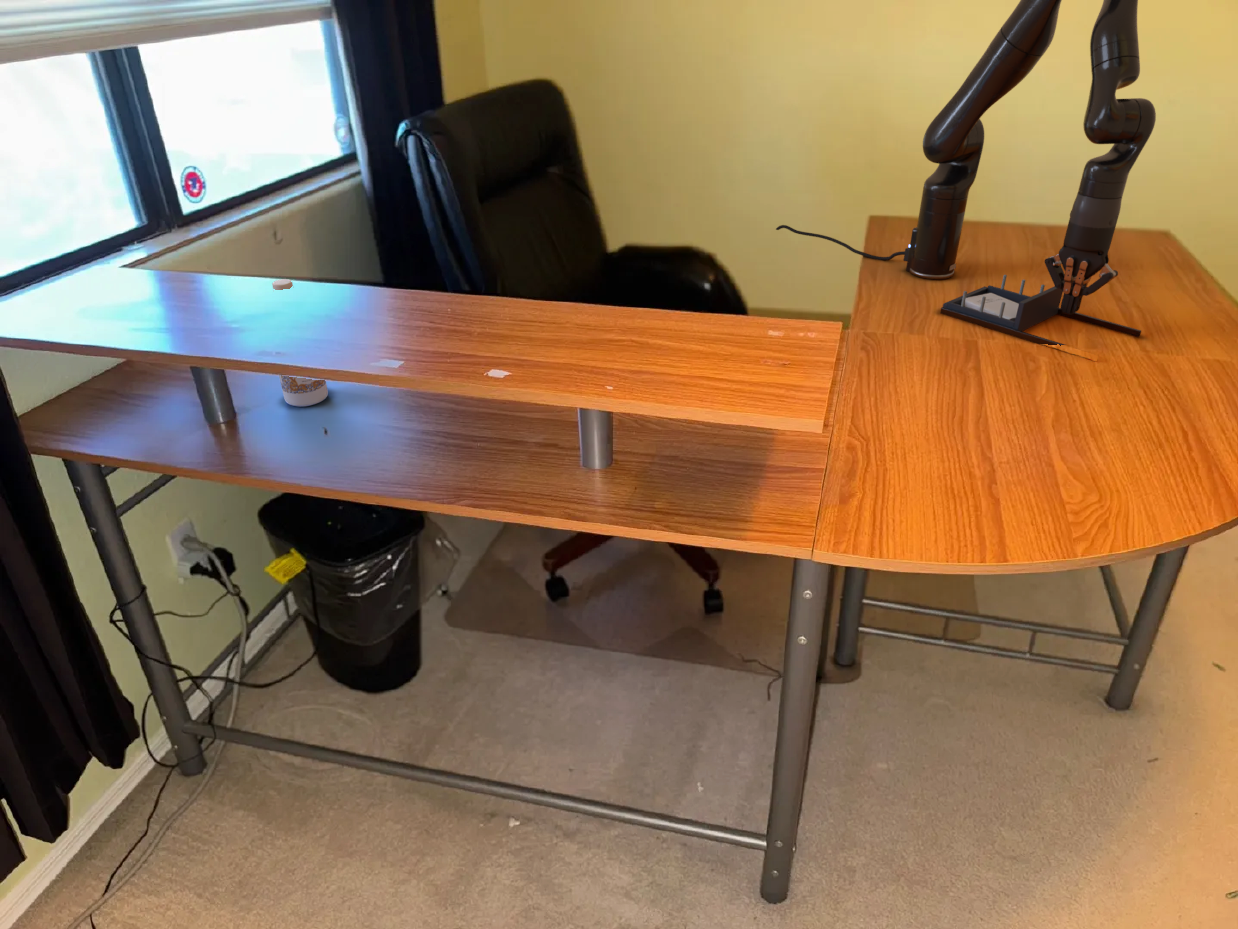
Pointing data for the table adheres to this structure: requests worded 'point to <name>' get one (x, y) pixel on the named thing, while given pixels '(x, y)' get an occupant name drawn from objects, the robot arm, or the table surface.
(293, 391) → the patterned jar
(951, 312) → the rack rails
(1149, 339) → the table surface
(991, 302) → the hard drive
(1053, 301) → the rack
